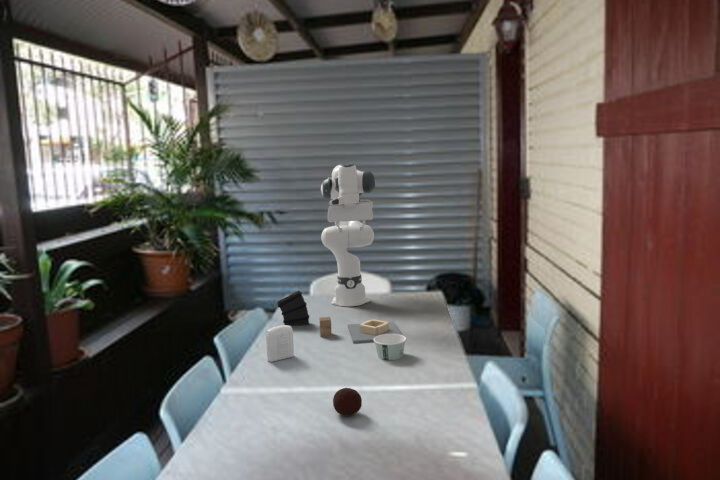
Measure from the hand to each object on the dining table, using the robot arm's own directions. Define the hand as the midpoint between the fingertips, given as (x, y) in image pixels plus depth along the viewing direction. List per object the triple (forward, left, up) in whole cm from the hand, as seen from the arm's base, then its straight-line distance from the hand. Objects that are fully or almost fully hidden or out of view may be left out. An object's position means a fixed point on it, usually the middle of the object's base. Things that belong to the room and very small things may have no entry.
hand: (351, 231), depth 259 cm
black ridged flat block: (+4, -27, -40) cm, 48 cm away
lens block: (+22, -14, -40) cm, 47 cm away
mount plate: (+24, +6, -39) cm, 47 cm away
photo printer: (+46, -32, -40) cm, 69 cm away
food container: (+52, +8, -40) cm, 66 cm away
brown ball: (+97, -12, -40) cm, 105 cm away
